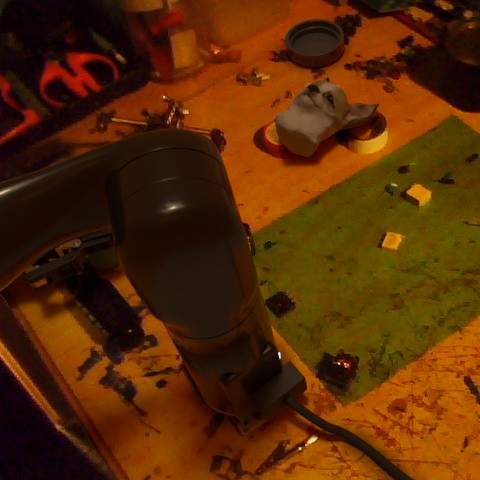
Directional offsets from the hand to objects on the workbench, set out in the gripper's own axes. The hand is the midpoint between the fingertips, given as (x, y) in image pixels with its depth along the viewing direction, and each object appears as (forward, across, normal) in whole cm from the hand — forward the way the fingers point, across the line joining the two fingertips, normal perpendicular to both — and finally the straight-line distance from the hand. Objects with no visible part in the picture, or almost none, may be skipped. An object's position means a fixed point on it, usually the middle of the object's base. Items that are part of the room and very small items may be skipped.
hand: (113, 218), depth 80 cm
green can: (-3, 0, -6) cm, 7 cm away
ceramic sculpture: (+28, -11, -6) cm, 31 cm away
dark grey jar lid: (+33, -29, -6) cm, 44 cm away
